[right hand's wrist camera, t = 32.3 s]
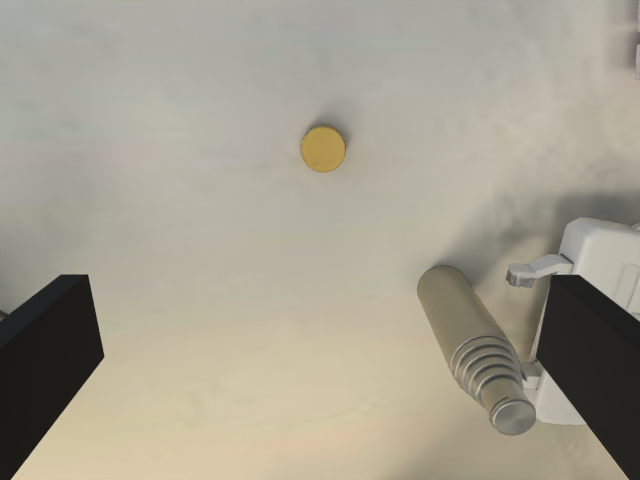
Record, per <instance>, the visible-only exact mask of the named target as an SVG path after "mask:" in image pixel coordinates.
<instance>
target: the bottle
mask: <svg viewBox="0 0 640 480" xmlns="http://www.w3.org/2000/svg"><path fill="white" fill-rule="evenodd" d="M417 293H418V297H419V299H420V302H421V304H422V306H423V309H424V311H425V313H426V316H427V318H428V320H429V322H430V325H431V327H432V329H433V332H434V334H435V336H436V339H437V341H438V343H439V346H440V348H441V350H442V352H443V355H444V357H445V359H446V362H447V364H448V366H449V369H450V371H451V373H452V375H453V377H454V379H455V380H456V381H457V383H458V384H459V386H460V387H461V388H462V389H463V390H465V391H466V392H467V393H468V394H469V395H470V396H472V397H473V399H474V400H476V401H477V402H478V403H479V404H480V405H481V406H482V407H484V408H485V409H486V411H487V413H488V415H489V419H490V421H491V424H492V425H493V426H494V427H495V428H496V429H497V430H498V431H499V432H500V433H502V434H505V435H519V434H522V433H524V432H526V431H528V430H529V429H530V428H531V427H532V426H533V425H534V423H535V420H536V409H535V407H534V405H533V404H532V403H531V402H530V401H529V400H528V398H527V397H526V395H525V393H524V392H523V391H524V387H523V383H522V376H521V369H520V362H519V358H518V356H517V354H516V351H515V349H514V347H513V345H512V344H511V343H510V341H509V340H508V338H507V337H506V335H505V334H504V333H503V331H502V330H501V328H500V327H499V326H498V324H497V323H496V321H495V320H494V318H493V317H492V316H491V314H490V313H489V311H488V310H487V308H486V307H485V306H484V304H483V303H482V301H481V300H480V298H479V297H478V296H477V294H476V293H475V291H474V290H473V288H472V287H471V286H470V284H469V283H468V281H467V280H466V279H465V277H464V276H463V274H462V273H461V272H460V271H458V270H457V269H455V268H453V267H449V266H439V267H435V268H433V269H431V270H429V271H427V272H426V273H425V274H424V275H423V276H422V278H421V279H420V281H419V283H418V287H417Z"/></svg>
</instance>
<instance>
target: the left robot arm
mask: <svg viewBox="0 0 640 480" xmlns="http://www.w3.org/2000/svg"><path fill="white" fill-rule="evenodd" d="M551 273H552V274H553V275H580V276H582V277H583V278H584V279H585V280H587V281H588V282H589V283H591V284H592V285H593V286H595V287H596V288H597V289H598V290H600V291H601V292H602V293H604V294H605V295H606V296H608V297H609V298H610V299H611V300H613V301H614V302H615V303H617V304H618V305H619V306H621V307H622V308H623V309H624V310H626V311H627V312H628V313H630V314H631V315H632V316H634V317H635V318H636V319H637V320H639V321H640V223H637V224H635V225H633V226H632V227H631V226H628V225H624V224H620V223H616V222H612V221H607V220H601V219H595V218H587V217H580V218H577V219H576V220H574V221H572V222H570V223H568V224H567V226H566V228H565V231H564V235H563V238H562V242H561V246H560V249H559V253H558V254H546V255H544V256H542V257H540V258H538V259H536V260H533V261H531V262H529V263H527V264H509V267H508V272H507V276H506V280H507V281H509V284H510V285H512V286H516V287H520V286H524V287H530V288H532V285H533V281H534V279H537V278H540V277H543V276H546V275H548V274H551ZM549 287H550V285H549ZM548 292H549V289H548ZM547 297H548V293H547V296H546V300H545V303H544V307H543V311H542V314H541V318H540V321H539V325H538V329H537V332H536V336H535V339H534V343H533V347H532V350H531V354H530V357H529V361H528V363H520V369H521V376H522V383H523V387H524V391H523V392H524V393H525V395H526V397H527V398H528V400H529V401H530V402H531V403H532V404H533V405H534V407H535V409H536V419H538V420H539V421H541V422H544V423H549V424H562V425H587V424H586V422H585V421H584V420H583V418H582V417H581V416H580V415H579V413H578V412H577V411H576V409H575V408H574V407H573V405H572V404H571V403H570V401H569V400H568V399H567V398H566V396H565V395H564V394H563V392H562V391H561V390H560V388H559V387H558V386H557V384H556V383H555V382H554V381H553V379H552V378H551V377H550V375H549V374H548V373H547V371H546V370H545V369H544V367H543V366H542V365H541V364H540V362H539V361H538V360H537V358H536V352H537V347H538V342H539V337H540V332H541V327H542V322H543V317H544V312H545V307H546V302H547Z"/></svg>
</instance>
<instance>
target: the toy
mask: <svg viewBox="0 0 640 480" xmlns="http://www.w3.org/2000/svg"><path fill="white" fill-rule="evenodd" d="M637 32H640V0H639V11H638V31H637ZM635 79H637V80H640V44H639V45H637V51H636V72H635Z"/></svg>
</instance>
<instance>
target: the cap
mask: <svg viewBox="0 0 640 480" xmlns="http://www.w3.org/2000/svg"><path fill="white" fill-rule="evenodd" d="M302 141H303V142H302V144H301V155H302V158H303V160H304V162H305V163H306V165H307V166H308V167H310V168H311V169H313V170H315V171H318V172H328V171H331V170H334V169H335V168H337V167H338V166H339V165H340V164H341V162H342V160H343V158H344V156H345V149H346V148H345V144H344V143H345V142H344V140H343V138H342V136H341V134H340V133H339V132H338V131H337V130H335V129H334V128H332V127H331V126H330V127H329V126H325V125H324V126H317V127H314V128H311V130H310V131H308V133H306V135H305V137H304V138H303V140H302Z"/></svg>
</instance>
